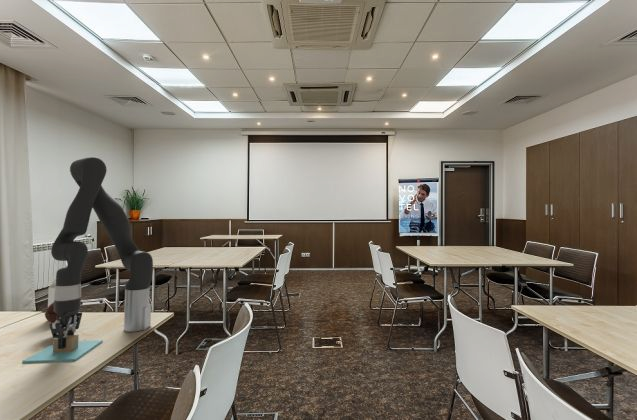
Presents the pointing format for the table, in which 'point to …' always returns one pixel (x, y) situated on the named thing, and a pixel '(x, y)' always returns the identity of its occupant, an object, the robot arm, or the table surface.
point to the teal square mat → (64, 351)
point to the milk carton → (51, 292)
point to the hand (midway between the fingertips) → (65, 345)
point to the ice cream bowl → (52, 314)
